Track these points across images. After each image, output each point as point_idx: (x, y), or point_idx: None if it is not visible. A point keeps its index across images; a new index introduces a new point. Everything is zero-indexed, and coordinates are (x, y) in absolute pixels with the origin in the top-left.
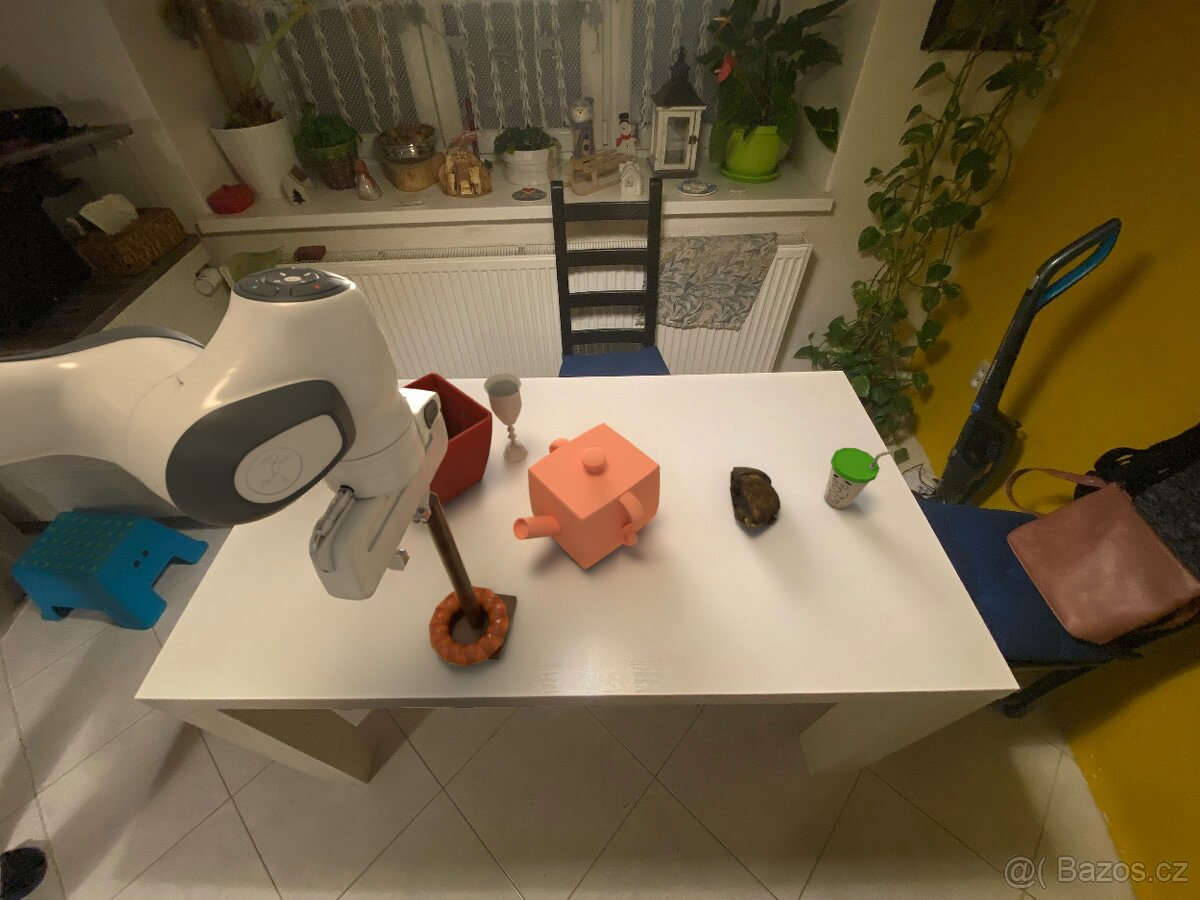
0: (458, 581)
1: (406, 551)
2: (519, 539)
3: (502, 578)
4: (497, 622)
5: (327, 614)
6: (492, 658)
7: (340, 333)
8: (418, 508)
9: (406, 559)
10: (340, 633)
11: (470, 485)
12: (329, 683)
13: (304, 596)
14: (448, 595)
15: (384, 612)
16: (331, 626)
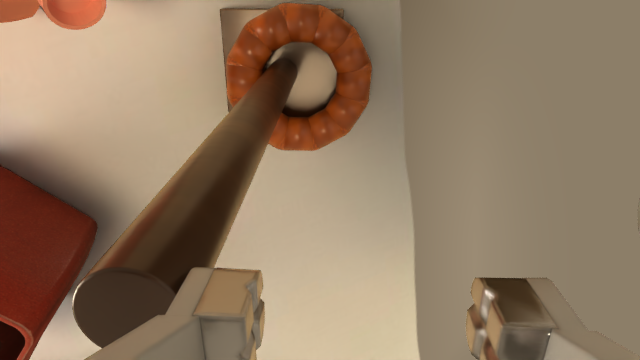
0: (275, 106)
1: (498, 316)
2: (105, 4)
3: (187, 52)
4: (293, 22)
5: (306, 296)
6: None
7: None
8: (208, 352)
9: (510, 291)
10: (330, 269)
11: (11, 175)
12: (400, 253)
13: (286, 333)
14: None
15: (289, 225)
16: (322, 284)
